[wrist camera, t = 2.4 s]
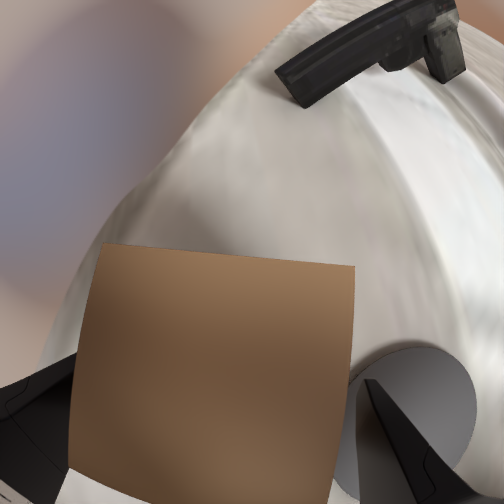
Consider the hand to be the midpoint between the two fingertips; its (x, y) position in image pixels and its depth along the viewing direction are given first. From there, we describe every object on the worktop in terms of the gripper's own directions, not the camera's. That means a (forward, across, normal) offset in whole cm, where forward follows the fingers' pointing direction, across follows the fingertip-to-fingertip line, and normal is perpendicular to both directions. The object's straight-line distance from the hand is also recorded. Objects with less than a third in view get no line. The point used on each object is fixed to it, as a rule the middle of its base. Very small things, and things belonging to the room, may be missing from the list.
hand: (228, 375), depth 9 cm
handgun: (+27, -12, -15) cm, 33 cm away
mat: (+3, -11, +8) cm, 14 cm away
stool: (+5, 0, +6) cm, 8 cm away
